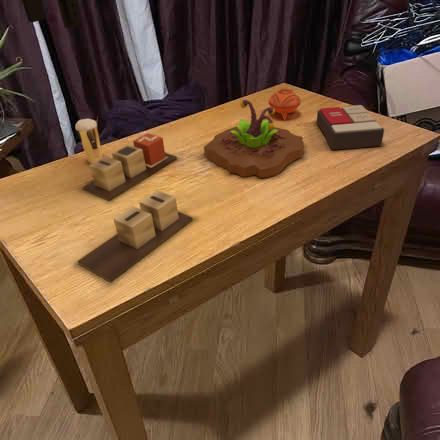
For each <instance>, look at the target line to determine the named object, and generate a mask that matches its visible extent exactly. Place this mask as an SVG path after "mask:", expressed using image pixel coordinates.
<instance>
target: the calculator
mask: <svg viewBox="0 0 440 440" xmlns="http://www.w3.org/2000/svg"><path fill="white" fill-rule="evenodd" d="M316 124H317V126H318V127H319V129H320V130H321V132H322V133H323V135H324V136H325V138H326V140H327V144H328V146H329V147H330V149H331V150H332V151H336V150H337V151H338V150H346V149H347V150H348V149H358V148H359V149H360V148H371V147H380V146H382V143H383V140H384V139H383V138H384V134H385V129H384V127H382V126H381V124H380V123H379V122H378V121H377V120H376V118H375V117H374V116H373V115H372V114H371V113H370V112H368V110H367V109H366V108H365V107H364V106H363V105H362V104H357V105H346V106H345V105H343V106H332V107H322V108H320V109H318V110H317V114H316Z"/></svg>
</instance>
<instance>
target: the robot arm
mask: <svg viewBox="0 0 440 440" xmlns="http://www.w3.org/2000/svg"><path fill="white" fill-rule="evenodd" d="M56 1H57V4H58V5H57V6H58V9H59V12H60V16H61V19H62V20H61V21H62V23H63V26H64V28H65V29H67V30H70V29H73V28H76V27H79V26H80V27H81V26H82V25H83V19H82V16H81V11H80V7H79V3H78V0H56ZM21 3H22V6H23V9H24V12H25V15H26V18H27V21H28V23H36V22H41V21H44V20H46V17H47V16H46V13H45V9H44V7H43V2H42V0H21Z"/></svg>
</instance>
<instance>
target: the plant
mask: <svg viewBox="0 0 440 440" xmlns="http://www.w3.org/2000/svg"><path fill="white" fill-rule="evenodd" d="M239 105H240V107H241V108H242V109H245V108H247V107H249V110H250V118H251V119H250V121H249V122H248V121H247V120H245V119H240V120H239V124H236V126H233V127H231V128H228V129H226V130H224V131H220V132H219V133H216V134H214V137H213V139H212V140H209V142H208V143H206V144H205V145H204V146H203V156H204V157H205V158H207V160H209V161H211V162H214V163H215V164H216V165H217V166H218V167H220V168H223V169H226V170H228V172H229V174H236V175H239V176H240V177H242V178H247V177H251V176H256V177H258V178H260V179H265V178H272V177H274V176H277V175H279V174H281V172H282V171H283V170H284V169H285V167H287V166H288V165H290V164H291V163H293V162H294V161H296V160H298V159H301V158H302V157H303V156H302V155H303V153H304V144H305V142H304V141H303V138H304V137H303V136H301V135H297V134H294V133H292V132H291V131H290V130H288V129H286V128H280V127H276V126H275V123H274V121H273V120H272V119H271V117H270V116H274V115H275V113H276V111H275V110H274V109H273V108H272V107H270V106H268V107H266V108H265V109H263V111H262V112H261V113H260V115H259V117H258V118H257V113H256V109H255V107H254V105H253V103H252V102H251V101H250V100H247V99H243V100H241V102H240V104H239ZM267 112H268V114H269V115H270V116H268V115H265V114H266V113H267Z"/></svg>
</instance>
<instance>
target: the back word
mask: <svg viewBox="0 0 440 440" xmlns="http://www.w3.org/2000/svg"><path fill="white" fill-rule="evenodd" d="M111 156H112V157H110V156H107V155H106V156H102V157H103V158H101V159H100V160H98V161H96V162H94V163H92V164H91V163H89V165H88V167H89V170H90V174H91V177H92V181H90V182H89V183H87V184H85V185H84V186H82V190H84V191H85V192H88V193H91V194H92V195H95V196H98V197H100V198H102V199H104V200H107V201H109V202H110V201H112V200H113V199H115V198H117V197H118V196H120V195H121V194H123V193H125V192H126V191H128V190H130V189H131V188H133V187H134V186H136V185H138V184H139V183H141V182H143V181H144V180H146V179H147V178H149V177H151V176H152V175H154V174H155V173H157V172H159V171H160V170H162V169H163V168H165V167H167V166H168V165H170V164H171V163H173V162H175V161H176V160H178V158H177V156H175V155H173V154H170V153H168V152H167V153H166V152H165V156H166V157H165V158H164V159H162V160H160V161H159V162H157V163H155V164H154V165H152V166H151V165H148V164H145V160H144V155H143V150H142V149H139V148H137V147H134V145H130V144H125V145H124V146H122V147H120V148H118V149H116V150H114V151H113V152H111Z"/></svg>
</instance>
